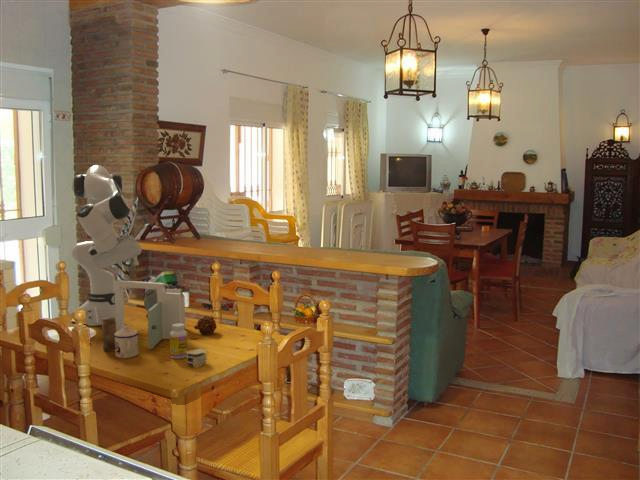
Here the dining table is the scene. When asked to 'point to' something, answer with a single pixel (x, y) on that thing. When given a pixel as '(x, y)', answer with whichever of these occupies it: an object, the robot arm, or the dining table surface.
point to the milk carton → (181, 302)
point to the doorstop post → (108, 334)
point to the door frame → (168, 300)
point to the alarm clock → (150, 299)
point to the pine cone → (206, 325)
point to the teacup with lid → (126, 343)
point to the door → (155, 324)
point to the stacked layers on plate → (196, 357)
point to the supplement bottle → (178, 341)
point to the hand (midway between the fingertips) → (127, 269)
